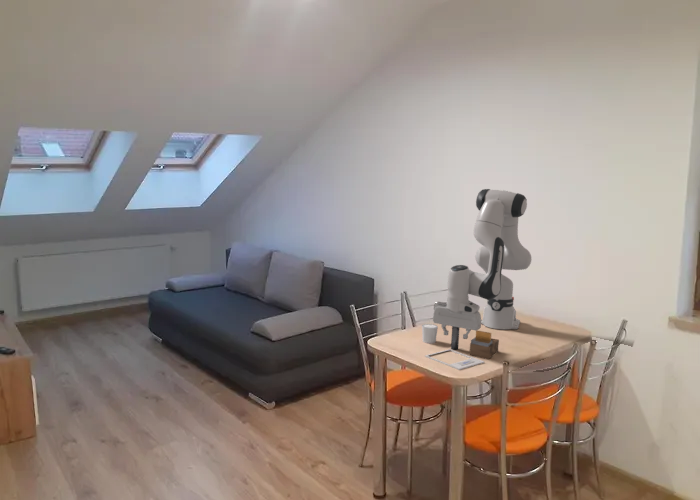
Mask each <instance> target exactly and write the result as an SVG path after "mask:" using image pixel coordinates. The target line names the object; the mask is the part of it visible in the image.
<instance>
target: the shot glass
mask: <svg viewBox="0 0 700 500" xmlns="http://www.w3.org/2000/svg"><path fill="white" fill-rule="evenodd" d="M421 335H422V343H425V344H436V341H437V335H438V325H436V324H432V323H425V324H422V325H421Z"/></svg>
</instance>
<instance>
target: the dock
mask: <svg viewBox="0 0 700 500" xmlns="http://www.w3.org/2000/svg"><path fill="white" fill-rule="evenodd" d="M491 340H492V344H491V345H490V346H489V347H486V346H481V345H476V344H471V342H470V344H469V356H470V357H477V358H480V359H485V358H486V359H487V360H490V359H491V358H492V357H493V356H494V355H495V354H496V353H498V352H499V345H500V344H499V341H500V340H499V339H496V338H492V337H491ZM489 358H490V359H489Z"/></svg>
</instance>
